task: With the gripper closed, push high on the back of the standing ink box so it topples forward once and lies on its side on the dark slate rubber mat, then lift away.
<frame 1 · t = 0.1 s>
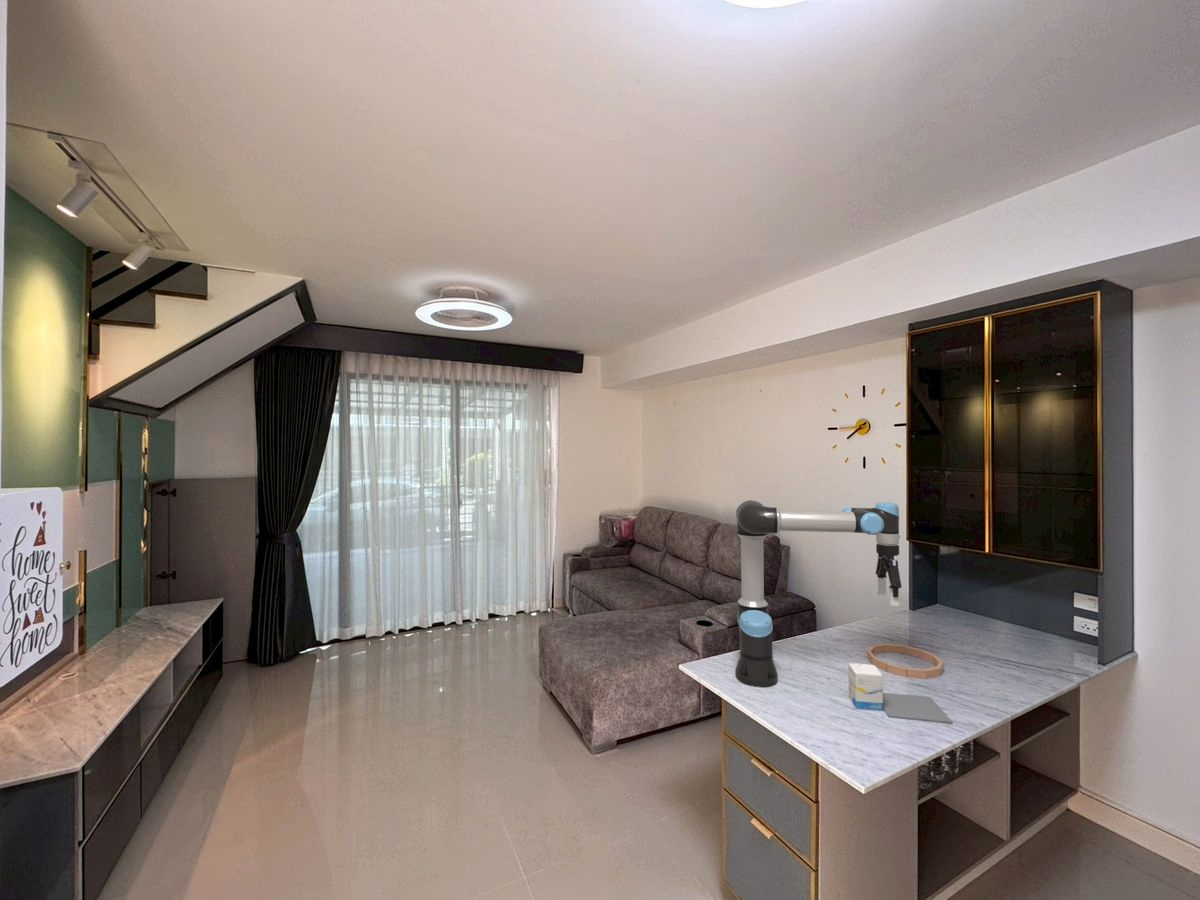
hand: (888, 600, 187), 28 cm above the countertop, fingers open, 13 cm apart
ink box: (865, 704, 166), on the countertop
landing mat: (910, 707, 163), on the countertop
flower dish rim: (903, 663, 196), on the countertop
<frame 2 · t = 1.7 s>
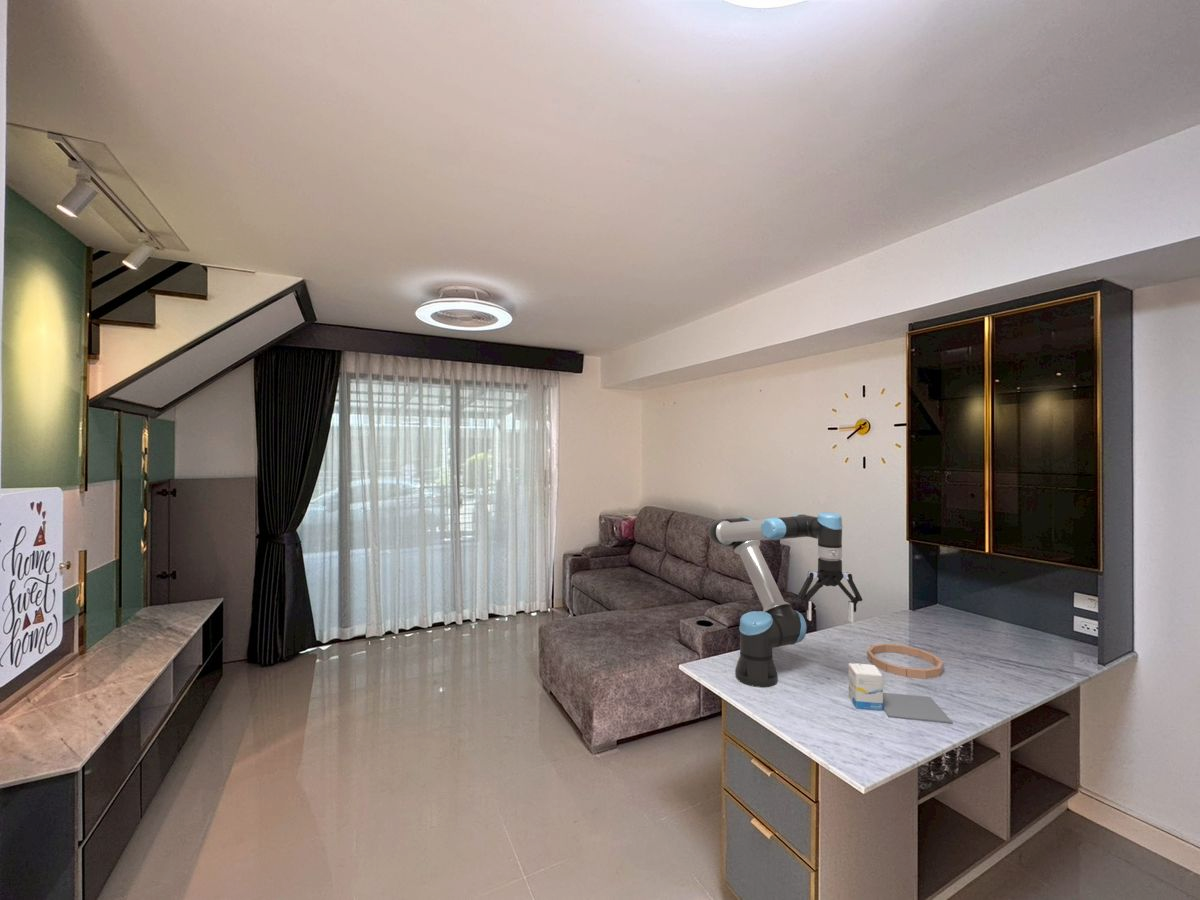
hand: (829, 620, 170), 27 cm above the countertop, fingers open, 13 cm apart
nothing on the countertop moved.
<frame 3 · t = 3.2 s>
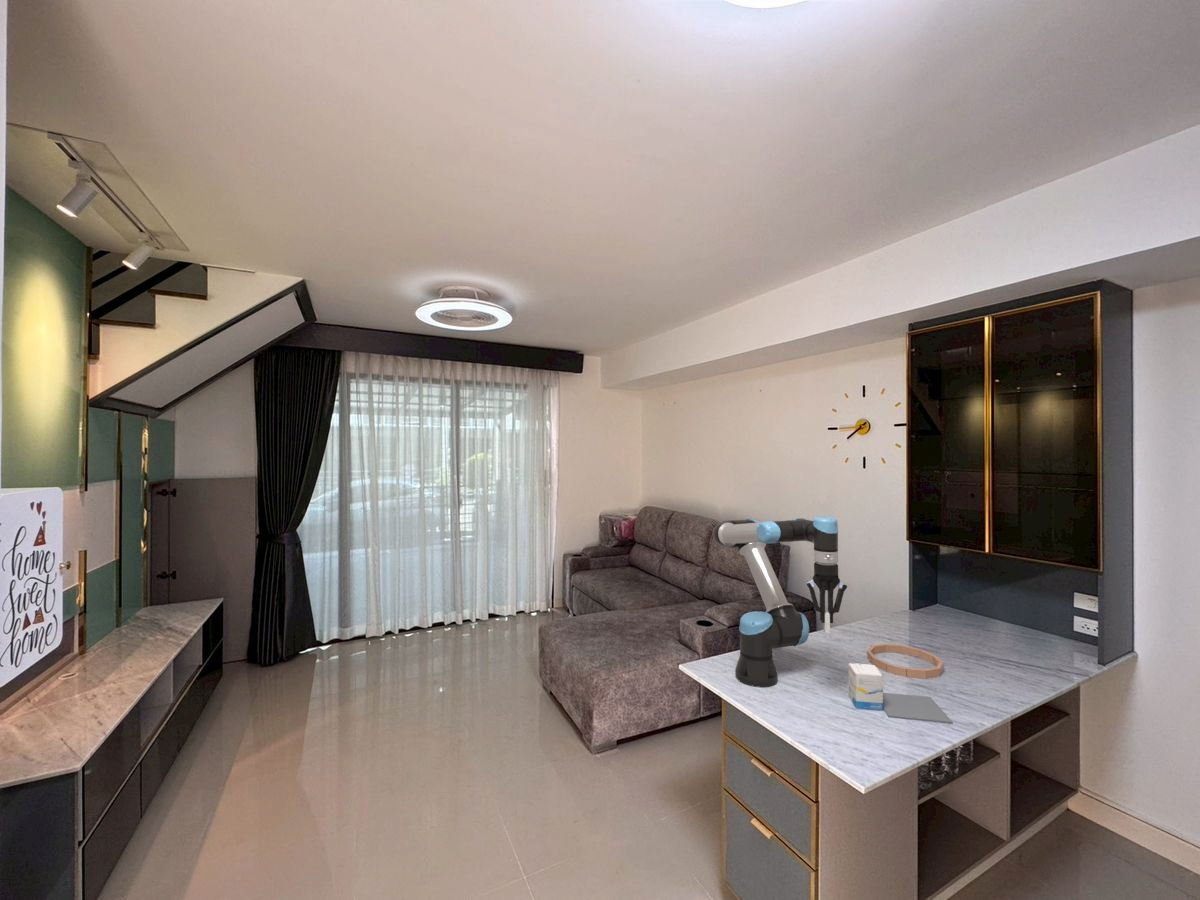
hand: (826, 632, 168), 23 cm above the countertop, fingers closed
nothing on the countertop moved.
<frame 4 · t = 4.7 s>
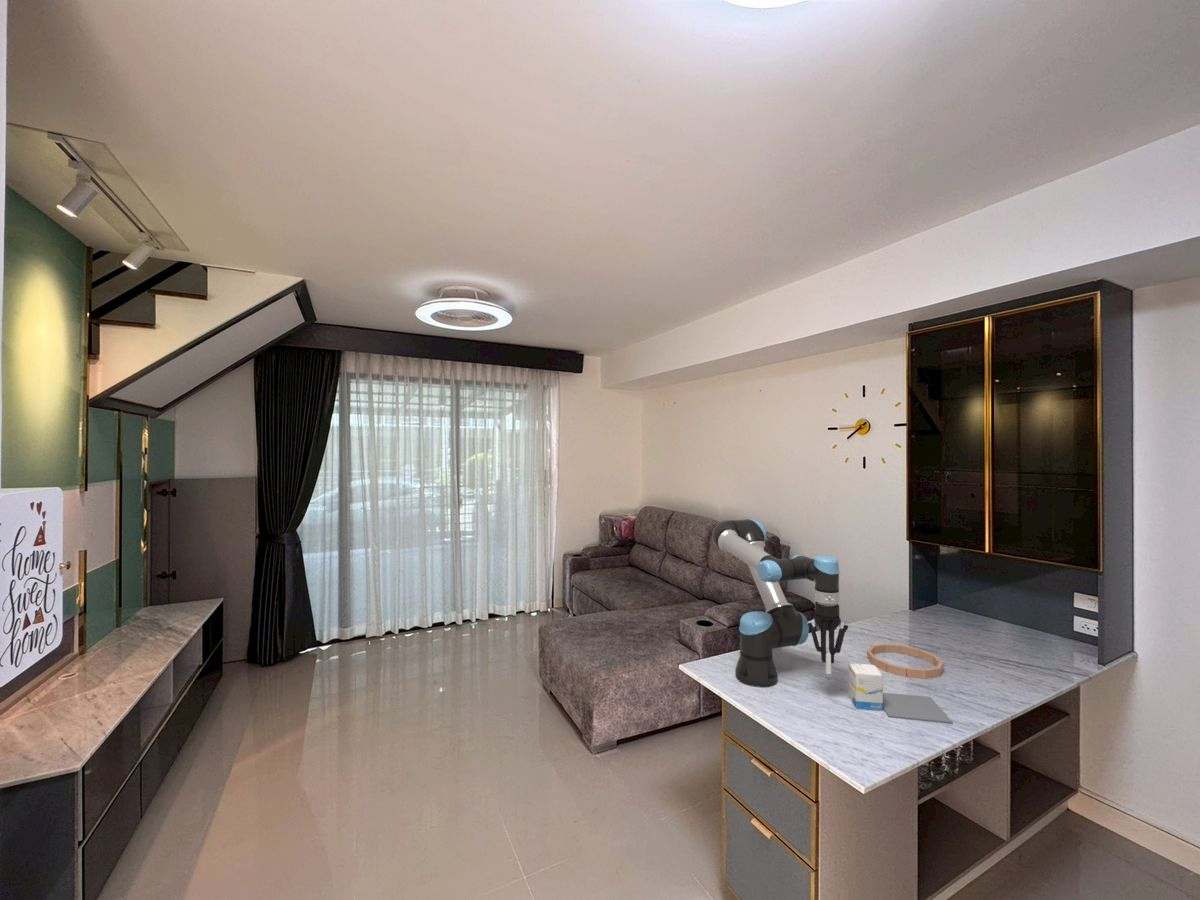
hand: (827, 672, 168), 9 cm above the countertop, fingers closed
nothing on the countertop moved.
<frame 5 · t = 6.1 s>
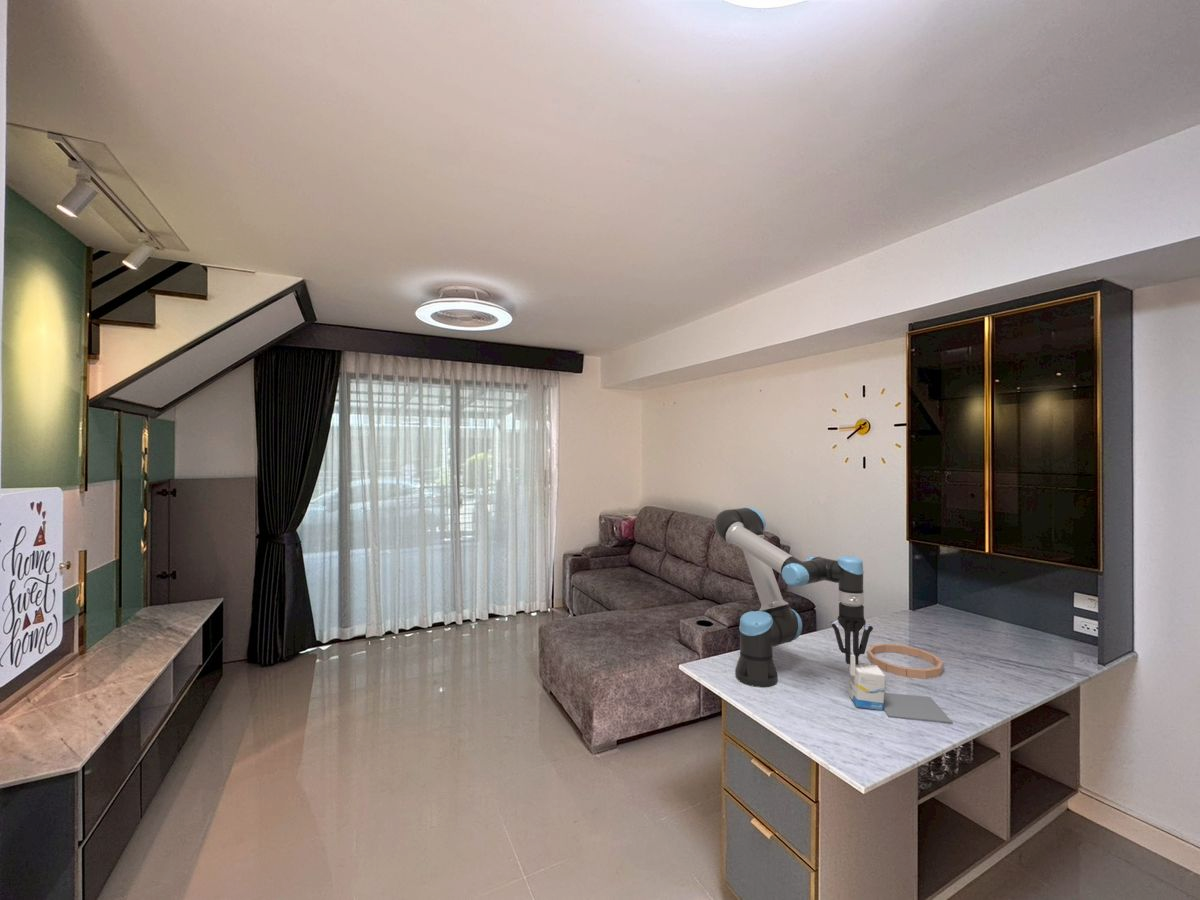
hand: (852, 673, 166), 10 cm above the countertop, fingers closed
ink box: (865, 703, 166), on the countertop, touching gripper
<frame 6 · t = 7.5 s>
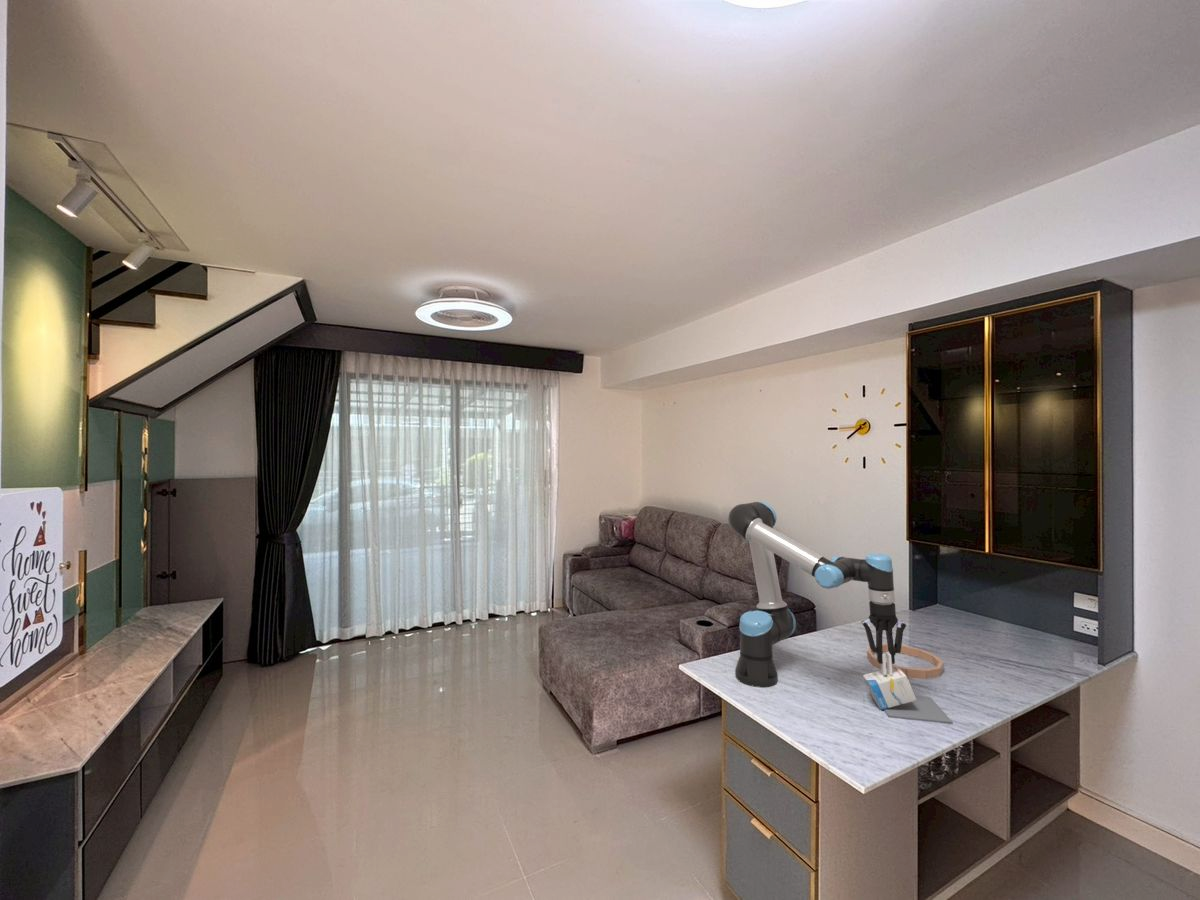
hand: (886, 673, 164), 11 cm above the countertop, fingers closed
ink box: (870, 692, 165), point 4 cm above the countertop, touching gripper, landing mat
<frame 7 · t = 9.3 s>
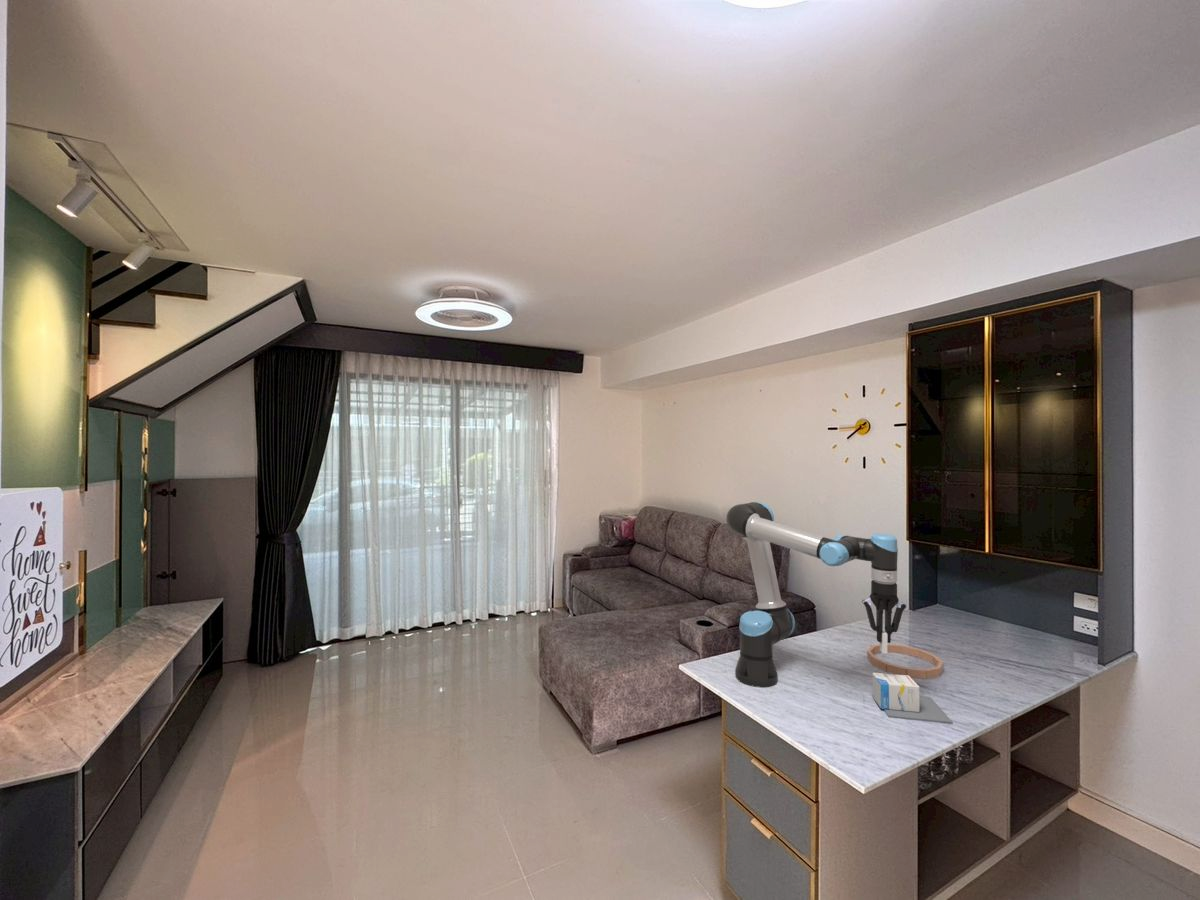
hand: (883, 651, 165), 18 cm above the countertop, fingers closed
ink box: (875, 690, 165), point 5 cm above the countertop, touching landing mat
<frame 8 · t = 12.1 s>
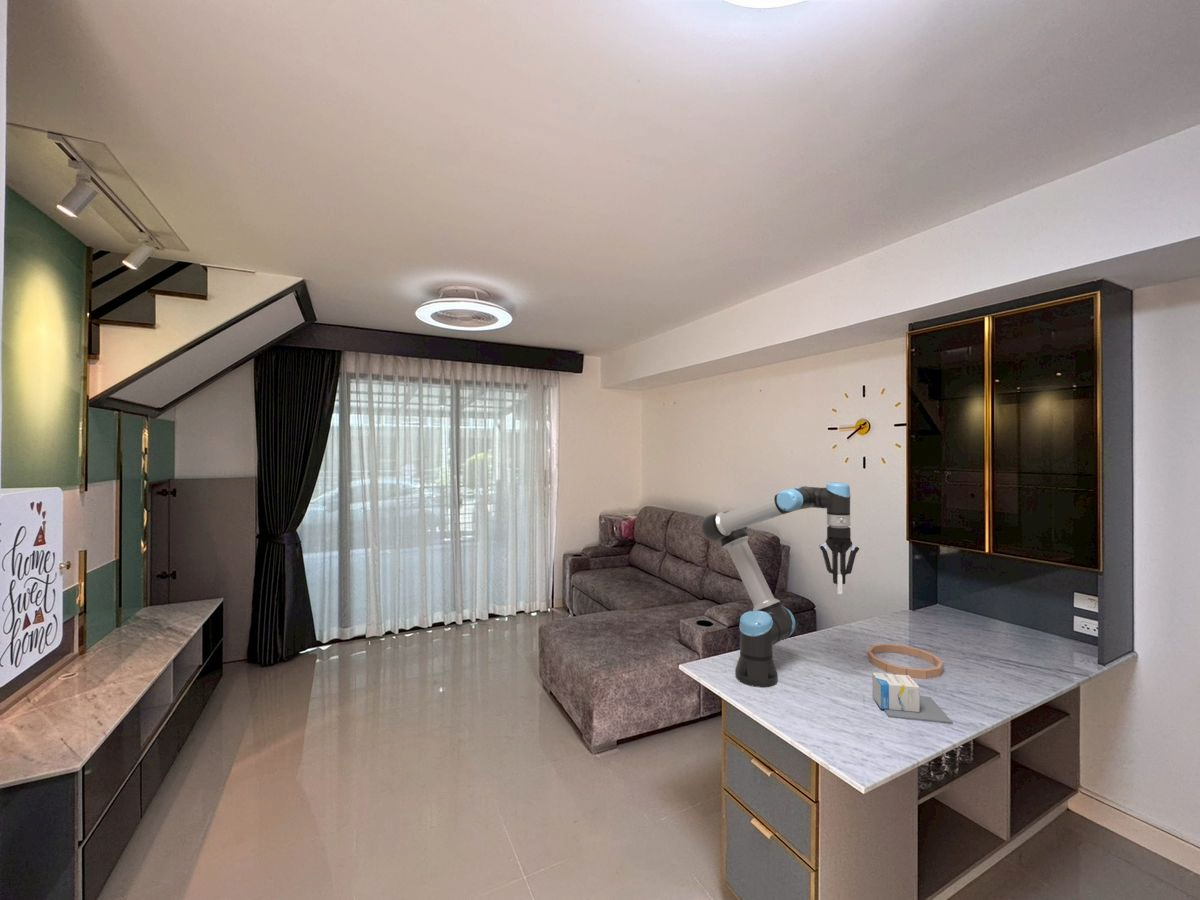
hand: (839, 592, 175), 34 cm above the countertop, fingers closed
nothing on the countertop moved.
at the end: ink box tilted 90°; ink box touching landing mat; ink box inside the target area (3.4 cm from its centre), point 4.7 cm above the countertop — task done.
